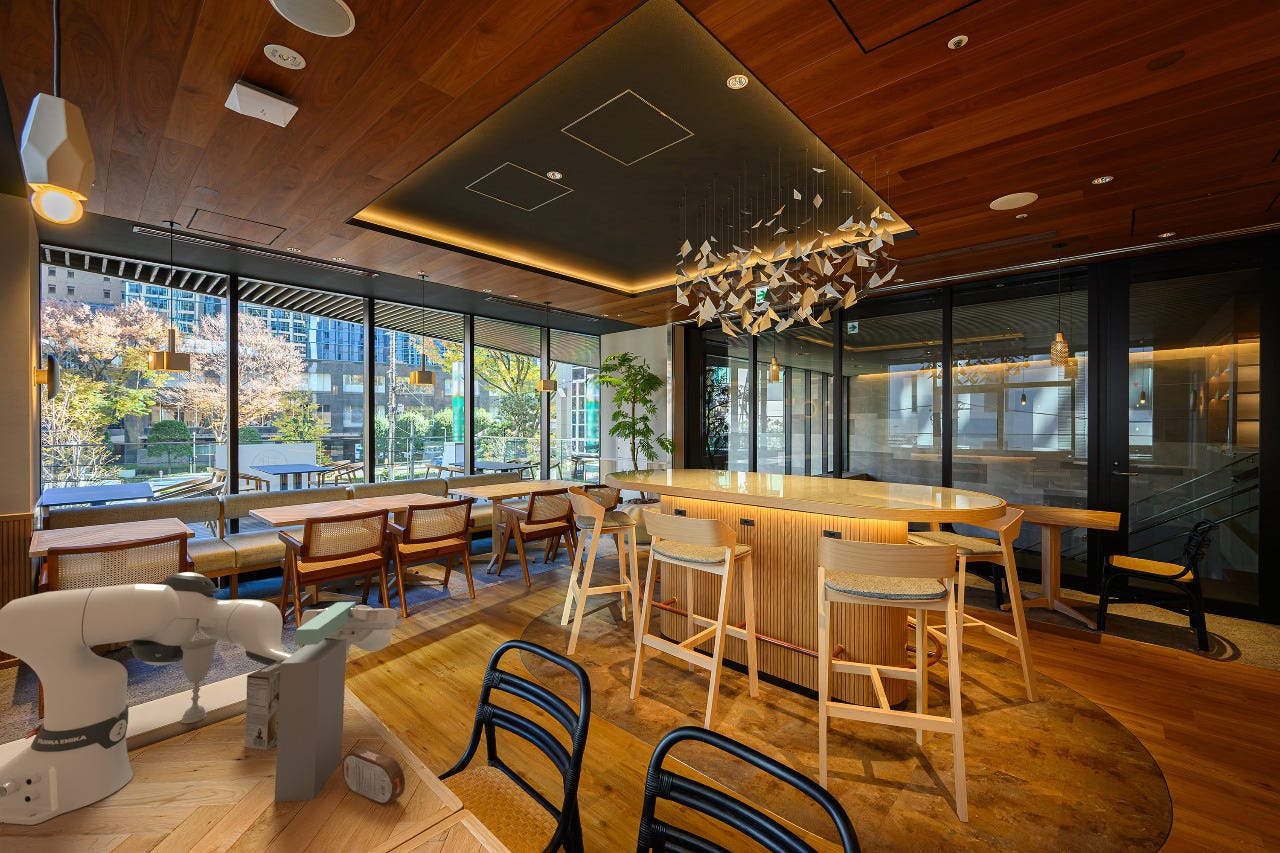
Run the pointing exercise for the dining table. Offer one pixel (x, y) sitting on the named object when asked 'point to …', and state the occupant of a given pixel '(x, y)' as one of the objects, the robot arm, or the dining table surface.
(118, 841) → the dining table surface
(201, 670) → the chalice
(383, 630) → the robot arm
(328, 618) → the mint green bar
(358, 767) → the tin
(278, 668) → the coffee box
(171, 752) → the dining table surface
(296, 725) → the stand
